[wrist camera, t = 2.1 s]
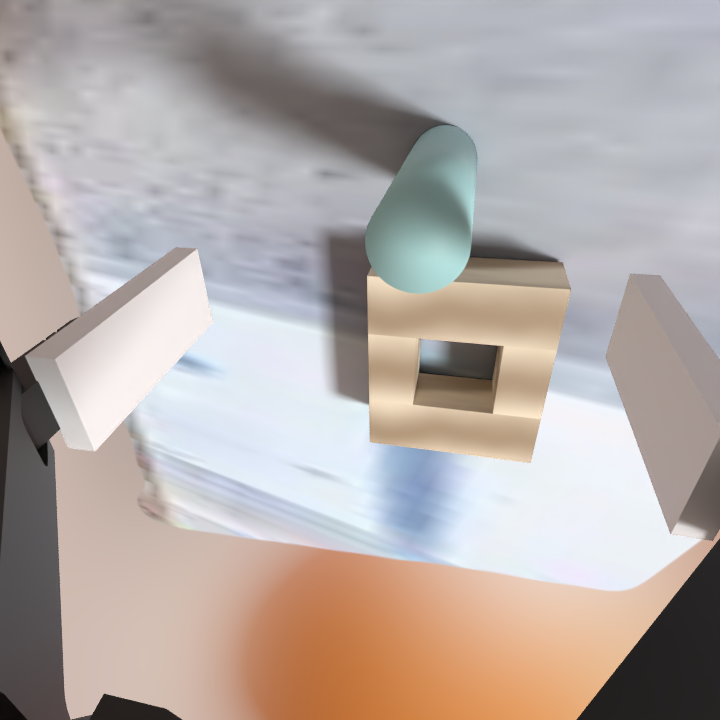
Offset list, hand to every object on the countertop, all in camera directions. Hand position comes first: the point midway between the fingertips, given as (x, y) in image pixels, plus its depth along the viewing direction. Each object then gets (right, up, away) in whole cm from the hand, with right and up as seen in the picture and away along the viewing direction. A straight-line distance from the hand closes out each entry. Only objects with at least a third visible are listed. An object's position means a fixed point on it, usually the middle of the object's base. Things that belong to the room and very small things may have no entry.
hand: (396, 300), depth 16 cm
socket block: (+6, -1, +21) cm, 22 cm away
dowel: (+4, +10, +15) cm, 18 cm away
